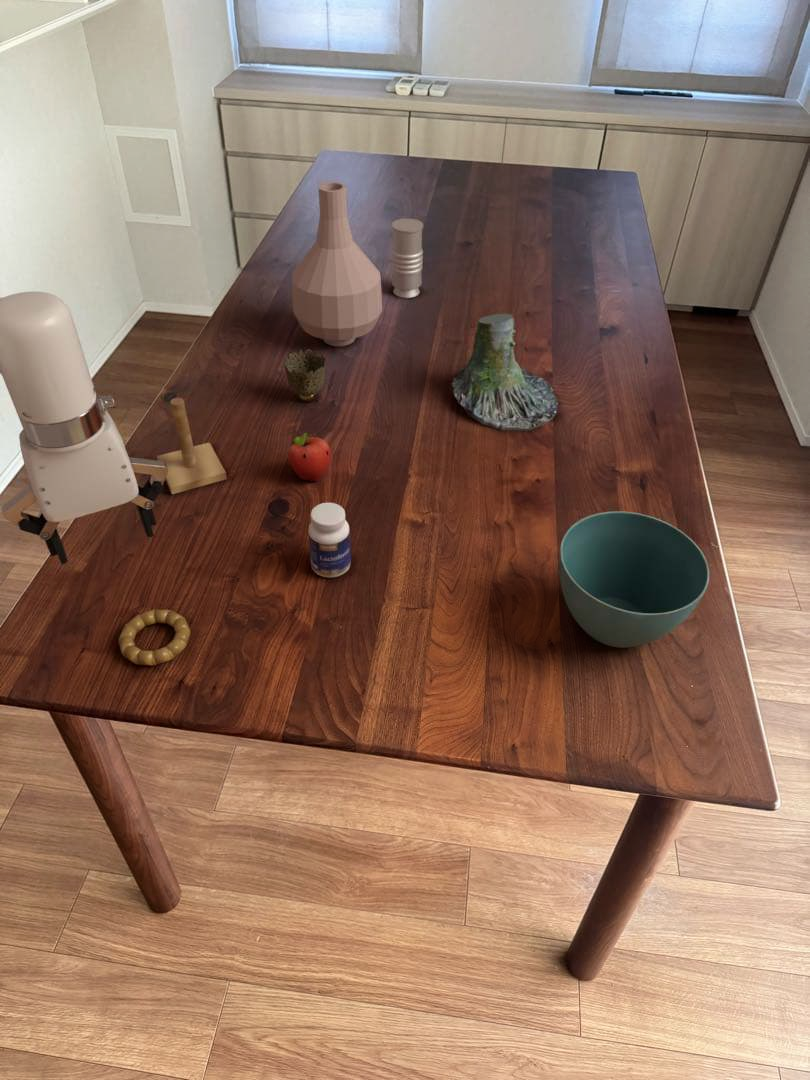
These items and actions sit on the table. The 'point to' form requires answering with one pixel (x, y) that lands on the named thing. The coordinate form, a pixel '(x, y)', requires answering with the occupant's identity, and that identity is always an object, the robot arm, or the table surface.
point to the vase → (336, 278)
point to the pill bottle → (329, 540)
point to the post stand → (190, 457)
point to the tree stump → (502, 381)
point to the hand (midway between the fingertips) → (106, 542)
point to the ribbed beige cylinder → (407, 257)
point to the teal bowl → (630, 577)
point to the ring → (161, 654)
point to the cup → (305, 374)
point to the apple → (309, 457)
